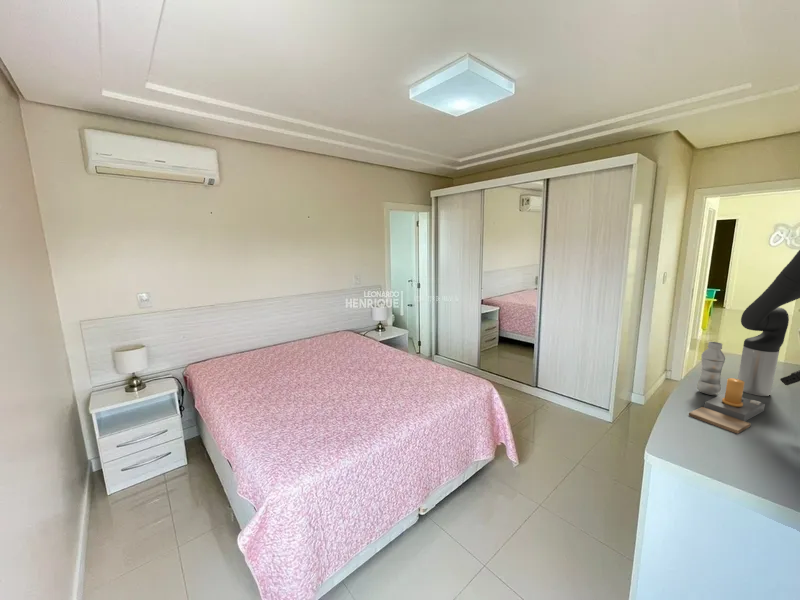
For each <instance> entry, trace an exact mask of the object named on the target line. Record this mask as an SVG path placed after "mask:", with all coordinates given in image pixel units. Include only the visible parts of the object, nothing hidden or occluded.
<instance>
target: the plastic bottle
mask: <svg viewBox="0 0 800 600" xmlns="http://www.w3.org/2000/svg"><path fill="white" fill-rule="evenodd" d="M707 347H708V348H707V349H705V350H704V351H703V352H702V353H701V369H700V370H701V372H700V376H699V379H698V380H697V384H696V386H697V387H696V388H697V390H698V391H699V392H700V393H703V394H705V395H709V396H719V394H720V393H721V391H722V385H721V376H722V374H721V373H722V370H723V367H724V363H725V362H726V356H725V354H724V353H723V351H722V349H723V343H722V342H717V341H708V344H707Z"/></svg>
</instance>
